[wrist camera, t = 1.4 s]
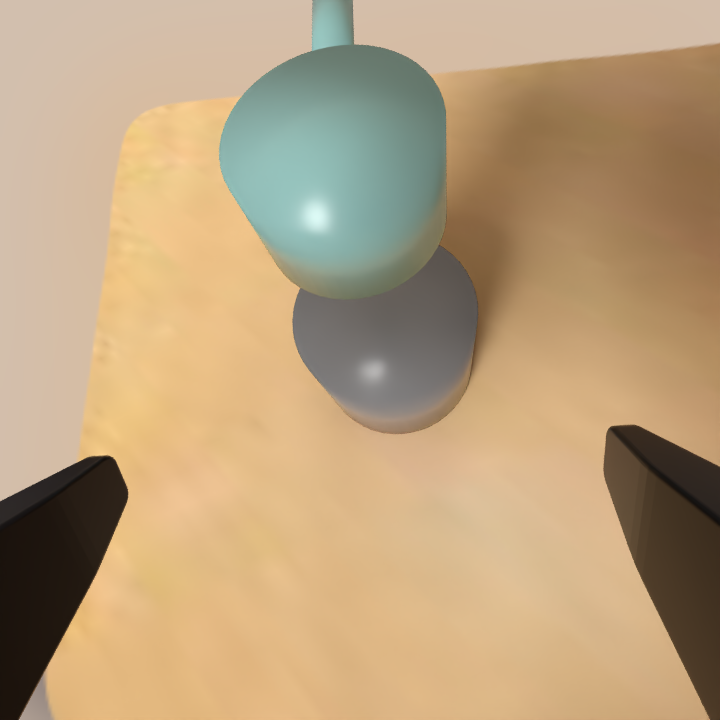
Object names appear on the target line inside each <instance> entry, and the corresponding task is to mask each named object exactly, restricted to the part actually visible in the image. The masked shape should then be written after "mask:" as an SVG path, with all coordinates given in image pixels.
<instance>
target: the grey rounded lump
mask: <svg viewBox="0 0 720 720" xmlns="http://www.w3.org/2000/svg"><path fill="white" fill-rule="evenodd" d="M477 320H478V302H477V297H476V292H475V289H474V286H473V284H472V281H471V279H470V277H469V275H468V273H467V271H466V270H465V269H464V267H463V266H462V265H461V263H460V262H459V261H458V260H457V259H456V258H455V257H454V256H453V255H452V254H451V253H450V252H448V251H447V250H446V249H444V248H443V247H441V246H440V245H438V248H437V249H436V251H435V252H434V254H433V256H432V257H431V258H430V260H429V261H428V262H427V263H426V264H425V266H424V267H423V268H422V269H421V270H419V271H418V272H417V273H416V274H415V275H414V276H413V277H411V278H410V279H408V280H407V281H406V282H404V283H402V284H401V285H399V286H397V287H395V288H394V289H391V290H389V291H386V292H384V293H382V294H378V295H375V296H371V297H366V298H360V299H347V300H343V299H331V298H327V297H322V296H318V295H316V294H313V293H310V292H308V291H306V290H304V289H302V288H300V290H299V293H298V295H297V298H296V302H295V306H294V311H293V334H294V339H295V343H296V346H297V349H298V352H299V354H300V356H301V358H302V360H303V362H304V363H305V365H306V366H307V368H308V369H309V371H310V372H311V373H312V374H313V375H314V377H315V378H316V379H317V380H318V381H319V383H320V384H321V385H322V386H323V387H324V388H325V390H326V391H327V392H328V393H329V394H330V396H331V397H332V398H333V399H334V400H335V402H336V403H337V404H338V405H339V406H340V407H341V409H342V410H343V411H344V412H345V413H346V414H347V415H348V416H349V417H351V418H352V419H353V420H354V421H356V422H357V423H359V424H361V425H362V426H364V427H367V428H369V429H371V430H375V431H378V432H382V433H389V434H404V433H411V432H415V431H419V430H422V429H425V428H427V427H430V426H432V425H433V424H435V423H437V422H439V421H440V420H441V419H443V418H444V417H445V416H447V415H448V414H449V413H450V412H451V411H452V410H453V409H454V408H455V406H456V405H457V404H458V402H459V401H460V399H461V398H462V396H463V394H464V392H465V390H466V388H467V385H468V382H469V378H470V373H471V366H472V358H473V351H474V343H475V336H476V329H477Z"/></svg>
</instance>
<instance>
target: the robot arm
mask: <svg viewBox="0 0 720 720" xmlns="http://www.w3.org/2000/svg"><path fill="white" fill-rule="evenodd" d="M604 477H605V481H606V484H607V487H608V490H609V492H610V495H611V498H612V501H613V504H614V507H615V510H616V512H617V515H618V518H619V521H620V524H621V527H622V530H623V532H624V535H625V538H626V541H627V544H628V547H629V550H630V552H631V555H632V558H633V560H634V563H635V565H636V568H637V570H638V572H639V574H640V576H641V579H642V581H643V583H644V585H645V587H646V589H647V591H648V593H649V595H650V597H651V599H652V601H653V603H654V605H655V607H656V609H657V611H658V614H659V616H660V618H661V620H662V622H663V624H664V626H665V628H666V630H667V632H668V634H669V636H670V638H671V640H672V642H673V644H674V646H675V648H676V650H677V653H678V655H679V657H680V659H681V661H682V663H683V665H684V667H685V669H686V671H687V673H688V675H689V677H690V679H691V681H692V683H693V685H694V687H695V690H696V692H697V694H698V696H699V698H700V700H701V702H702V704H703V706H704V708H705V710H706V712H707V714H708V716H709V718H710V720H720V467H719V466H717V465H715V464H713V463H711V462H709V461H707V460H705V459H703V458H701V457H699V456H697V455H695V454H693V453H691V452H689V451H687V450H685V449H683V448H681V447H679V446H677V445H675V444H673V443H671V442H669V441H667V440H665V439H663V438H661V437H659V436H657V435H655V434H653V433H651V432H649V431H647V430H645V429H644V428H642V427H639V426H637V425H620V426H611V427H610V428H609V429H608V431H607V434H606V444H605V455H604ZM127 500H128V489H127V486H126V484H125V481H124V479H123V477H122V474H121V472H120V470H119V467H118V465H117V463H116V461H115V459H114V458H113V457H111V456H108V455H106V456H91V457H87V458H85V459H83V460H81V461H79V462H77V463H75V464H73V465H71V466H69V467H67V468H65V469H63V470H61V471H59V472H57V473H55V474H53V475H52V476H50V477H48V478H46V479H44V480H42V481H40V482H38V483H36V484H34V485H32V486H30V487H28V488H26V489H24V490H22V491H20V492H18V493H16V494H14V495H12V496H10V497H8V498H6V499H4V500H2V501H0V720H19V719H20V717H21V715H22V713H23V711H24V709H25V707H26V705H27V704H28V702H29V700H30V698H31V696H32V694H33V692H34V691H35V689H36V687H37V685H38V683H39V681H40V679H41V677H42V676H43V674H44V672H45V670H46V668H47V666H48V664H49V662H50V661H51V659H52V657H53V655H54V653H55V651H56V649H57V647H58V646H59V644H60V642H61V640H62V638H63V636H64V634H65V632H66V631H67V629H68V627H69V625H70V623H71V621H72V619H73V617H74V616H75V614H76V612H77V610H78V608H79V606H80V604H81V603H82V601H83V599H84V597H85V595H86V593H87V591H88V589H89V588H90V586H91V584H92V582H93V580H94V578H95V576H96V574H97V571H98V569H99V567H100V565H101V563H102V560H103V558H104V555H105V553H106V551H107V548H108V546H109V544H110V541H111V539H112V536H113V534H114V532H115V529H116V527H117V525H118V522H119V520H120V517H121V515H122V513H123V510H124V508H125V506H126V503H127Z"/></svg>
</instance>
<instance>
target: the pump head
mask: <svg viewBox="0 0 720 720" xmlns="http://www.w3.org/2000/svg"><path fill="white" fill-rule="evenodd" d="M312 9H313V10H312V51H311V52H308V53H305V54H302V55H299V56H297V57H295V58H292V59H290V60H288V61H286V62H284V63H282V64H281V65H279V66H277V67H275V68H274V69H272V70H271V71H269V72H268V73H266V74H265V75H264V76H262V77H261V78H260V79H259V80H258V81H256V82H255V83H254V84H253V85H252V86H251V87H250V88H249V89H248V90H247V91H246V92H245V93H244V95H243V96H242V97H241V98H240V99H239V101H238V102H237V103H236V105H235V107H234V108H233V110H232V111H231V113H230V115H229V117H228V119H227V121H226V123H225V126H224V129H223V132H222V135H221V141H220V147H219V160H220V167H221V171H222V175H223V178H224V181H225V182H226V184H227V186H228V188H229V190H230V192H231V193H232V195H233V196H234V198H235V200H236V201H237V203H238V204H239V206H240V207H241V209H242V211H243V212H244V214H245V215H246V217H247V219H248V220H249V222H250V223H251V225H252V226H253V228H254V230H255V231H256V233H257V234H258V236H259V237H260V239H261V241H262V242H263V244H264V245H265V247H266V249H267V250H268V252H269V253H270V255H271V256H272V258H273V260H274V261H275V263H276V264H277V266H278V267H279V269H280V270H281V271H282V272H283V274H284V275H285V276H286V277H287V278H288V279H289V280H290V281H291V282H293V283H294V284H296V285H297V286H299V287H300V288H302V289H304V290H306V291H308V292H310V293H313V294H316V295H318V296H322V297H327V298H331V299H343V300H347V299H360V298H366V297H371V296H375V295H378V294H382V293H384V292H386V291H389V290H391V289H394V288H395V287H397V286H399V285H401V284H402V283H404V282H406V281H407V280H408V279H410V278H411V277H413V276H414V275H415V274H416V273H417V272H418V271H419V270H421V269H422V268H423V267H424V266H425V264H426V263H427V262H428V261H429V260H430V258H431V257H432V256H433V254H434V252H435V251H436V249H437V248H438V245H439V243H440V241H441V239H442V236H443V233H444V229H445V225H446V217H447V196H446V110H445V105H444V100H443V98H442V95H441V92H440V90H439V88H438V86H437V85H436V83H435V81H434V80H433V78H432V77H431V76H430V75H429V74H428V73H427V72H426V70H424V69H423V68H422V67H421V66H420V65H418V64H417V63H416V62H414V61H413V60H411V59H409V58H408V57H406V56H404V55H402V54H399V53H397V52H394V51H391V50H388V49H385V48H381V47H375V46H369V45H354V31H353V30H354V29H353V0H313V7H312Z"/></svg>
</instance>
